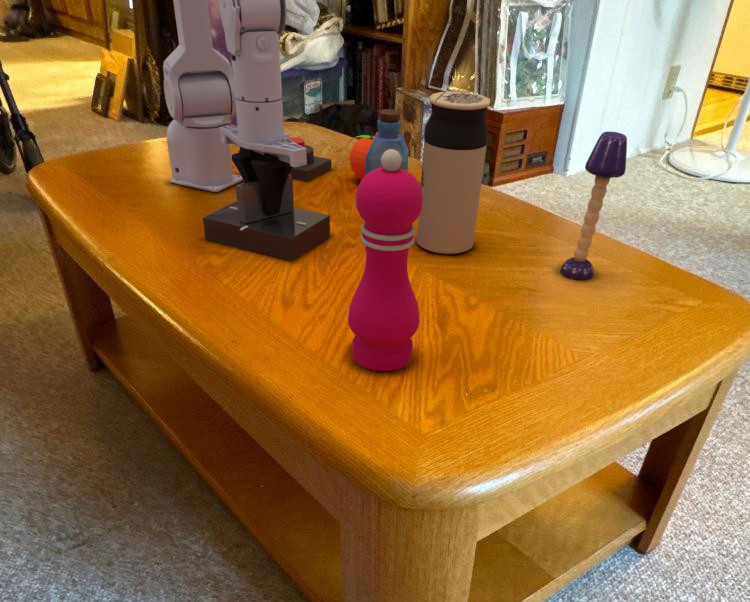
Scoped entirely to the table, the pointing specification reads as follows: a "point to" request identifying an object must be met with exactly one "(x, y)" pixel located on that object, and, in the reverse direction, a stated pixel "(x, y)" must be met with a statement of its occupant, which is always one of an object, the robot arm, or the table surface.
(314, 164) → the control block
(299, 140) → the button
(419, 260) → the table surface
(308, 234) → the base
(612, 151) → the toy lamp
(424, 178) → the travel mug
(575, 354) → the table surface
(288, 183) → the upright grey panel
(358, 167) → the clementine
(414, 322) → the pepper mill
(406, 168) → the perfume bottle
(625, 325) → the table surface
